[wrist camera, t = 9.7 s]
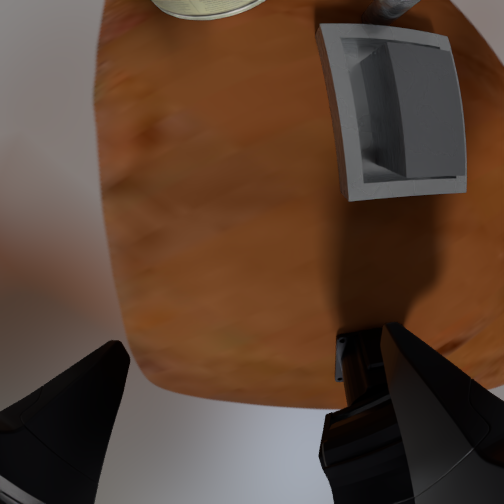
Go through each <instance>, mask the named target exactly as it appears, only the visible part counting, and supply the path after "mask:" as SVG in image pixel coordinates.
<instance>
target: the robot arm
mask: <svg viewBox="0 0 504 504" xmlns="http://www.w3.org/2000/svg"><path fill="white" fill-rule="evenodd" d="M341 339H343V340H341ZM129 365H130V356H129V354H128V353H127V351H126V349H125V347H124V346H123V344H122V342H120V341H119V340H111V341H108V342H107V343H105V344H104V345H102V346H101V347H100V348H98V349H96V350H95V351H93V352H92V353H90V354H89V355H87V356H86V357H84V358H83V359H82V360H80V361H79V362H77V363H76V364H74V365H73V366H71V367H70V368H69V369H67V370H65V371H64V372H62V373H61V374H59V375H58V376H56V377H55V378H53V379H52V380H50V381H49V382H48V383H46V384H44V386H41V387H40V388H38V389H37V390H36V391H34V392H32V393H31V394H30V395H28V396H26V397H25V398H23V399H21V400H19V401H18V402H16V403H14V404H13V405H11V406H9V407H7V408H6V409H4V410H2V411H0V504H94V503H95V497H96V493H97V488H98V483H99V478H100V474H101V470H102V466H103V462H104V458H105V454H106V451H107V447H108V443H109V440H110V436H111V432H112V429H113V425H114V422H115V419H116V415H117V412H118V409H119V406H120V403H121V399H122V395H123V392H124V387H125V383H126V378H127V374H128V369H129ZM335 381H336V382H344V388H345V394H346V400H347V406H348V407H346V408H343V409H341V410H339V411H336V412H334V413H332V412H331V413H329V414H326V416H325V422H324V428H323V434H322V439H321V444H320V450H319V459H320V463H321V466H322V469H323V471H324V473H325V474H326V476H327V478H328V480H329V483H330V486H331V489H332V494H333V500H334V504H504V401H503V400H501V399H500V398H498V397H497V396H495V395H494V394H492V393H491V392H489V391H488V390H487V389H485V388H484V387H483V386H481V385H480V384H479V383H477V382H476V381H475V380H474V379H471V377H470V376H468V375H467V374H466V373H464V372H463V371H462V370H461V369H459V368H458V367H457V366H455V365H454V364H453V363H451V362H450V361H449V360H447V359H446V358H445V357H443V356H442V355H441V354H440V353H438V352H437V351H436V350H434V349H433V348H432V347H430V346H429V345H428V344H426V343H425V342H424V341H422V340H421V339H419V338H418V337H417V336H415V335H414V334H413V333H411V332H410V331H409V330H407V329H406V328H405V327H404V326H403V325H402V324H399V323H398V322H390V323H385V324H384V326H383V328H377V329H371V330H365V331H359V332H352V333H345V334H340V335H338V336H337V338H336V361H335Z"/></svg>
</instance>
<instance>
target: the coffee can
mask: <svg viewBox="0 0 504 504" xmlns="http://www.w3.org/2000/svg"><path fill="white" fill-rule="evenodd" d="M151 1H152V2H153V3H154V4H155V5H156V6H157V7H158V8H159V9H161V10H162V11H163V12H165V13H167V14H169V15H172V16H174V17H178V18H182V19H189V20H213V19H219V18H223V17H229V16H232V15H236V14H239V13H242V12H244V11H247V10H249V9H251V8H253V7H255V6H257V5H259V4H260V3H262V2H264V1H265V0H151Z"/></svg>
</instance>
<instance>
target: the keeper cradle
mask: <svg viewBox="0 0 504 504" xmlns="http://www.w3.org/2000/svg"><path fill="white" fill-rule="evenodd" d="M419 1H420V0H374V1H373V2H372V3H371V5H370V6H369V7H368V8H367V10H366V11H365V12H364V13H363V15H362V22H363V24H320V25H319V27H318V30H317V32H316V35H315V38H316V42H317V46H318V50H319V55H320V59H321V64H322V68H323V73H324V78H325V83H326V88H327V94H328V99H329V105H330V111H331V117H332V124H333V130H334V137H335V145H336V153H337V161H338V170H339V180H340V190H341V193H342V194H343V195H344V197H345V198H346V199H347V200H348V201H359V200H369V199H380V198H391V197H404V196H417V195H431V194H447V193H466V186H467V159H466V138H465V125H464V116H463V107H462V100H461V94H460V88H459V82H458V77H457V72H456V67H455V63H454V59H453V54H452V51H451V47H450V43H449V40H448V37H447V36H443V35H438V34H434V33H429V32H424V31H418V30H412V29H406V28H399V27H390V26H389V25H390V24H392V23H393V22H394V21H395V20H396V19H398V18H399V17H400V16H401V15H403V14H404V13H405V12H406V11H408V10H409V9H410V8H411V7H413V6H414V5H415V4H416V3H418V2H419ZM386 42H392V43H402V44H410V45H417V46H424V47H430V48H435V49H440V50H445V51H450V53H451V57H452V61H453V65H454V70H455V74H456V79H457V85H458V90H459V97H460V103H461V111H462V119H463V130H464V144H465V176H436V177H413V178H406V177H404V176H401V175H399V174H397V173H395V172H393V171H390V170H388V169H386V168H383V167H381V166H379V165H376V164H375V157H374V147H373V138H372V130H371V122H370V115H369V108H368V102H367V96H366V91H365V85H364V80H363V75H362V70H361V66H360V62H361V61H362V60H363V59H365V58H366V57H367V56H369V55H370V54H371V53H373V52H374V51H375V50H377V49H378V48H379V47H381V46H382V45H383V44H385V43H386Z"/></svg>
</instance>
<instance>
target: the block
mask: <svg viewBox="0 0 504 504" xmlns="http://www.w3.org/2000/svg"><path fill="white" fill-rule="evenodd" d="M360 66H361V70H362V75H363V80H364V85H365V91H366V96H367V102H368V108H369V115H370V122H371V130H372V138H373V147H374V157H375V164H376V165H379V166H381V167H383V168H386V169H388V170H390V171H393V172H395V173H397V174H399V175H401V176H404V177H406V178H413V177H436V176H465V144H464V130H463V119H462V111H461V103H460V97H459V90H458V85H457V79H456V74H455V70H454V65H453V61H452V57H451V53H450V51H445V50H440V49H435V48H430V47H424V46H417V45H410V44H402V43H392V42H386V43H385V44H383V45H382V46H381V47H379V48H378V49H377V50H375V51H374V52H373V53H371V54H370V55H369V56H367V57H366V58H365V59H363V60H362V61H361V62H360Z"/></svg>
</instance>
